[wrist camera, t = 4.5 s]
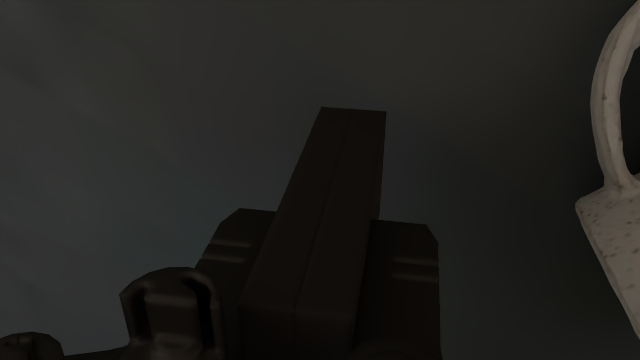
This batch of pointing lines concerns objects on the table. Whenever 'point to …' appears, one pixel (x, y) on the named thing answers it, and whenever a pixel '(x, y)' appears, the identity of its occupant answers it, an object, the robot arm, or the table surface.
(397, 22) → the table surface
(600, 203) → the ceramic mug
